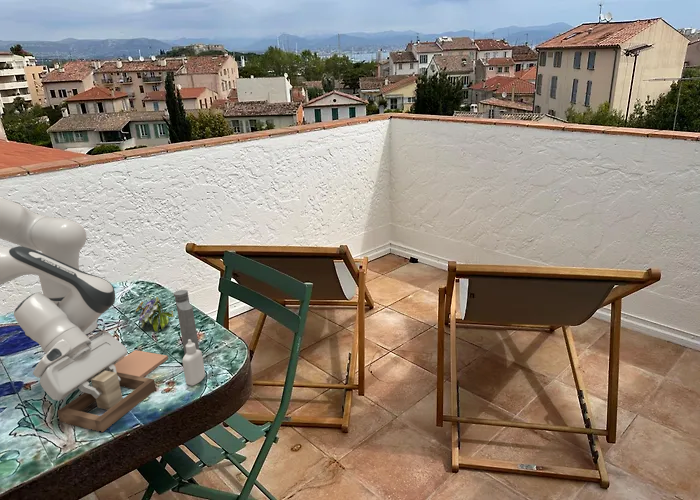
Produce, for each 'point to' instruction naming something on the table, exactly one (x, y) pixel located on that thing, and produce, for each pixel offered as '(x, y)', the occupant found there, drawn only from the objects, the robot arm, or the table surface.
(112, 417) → the walnut stand
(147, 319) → the passion flower
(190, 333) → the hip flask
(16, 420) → the table surface
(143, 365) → the terracotta tile
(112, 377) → the ash post
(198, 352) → the eye dropper bottle
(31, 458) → the table surface
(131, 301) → the table surface
